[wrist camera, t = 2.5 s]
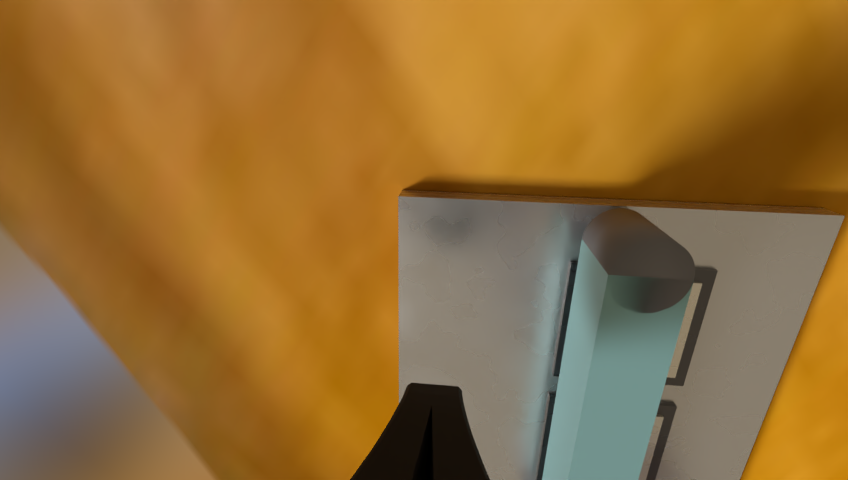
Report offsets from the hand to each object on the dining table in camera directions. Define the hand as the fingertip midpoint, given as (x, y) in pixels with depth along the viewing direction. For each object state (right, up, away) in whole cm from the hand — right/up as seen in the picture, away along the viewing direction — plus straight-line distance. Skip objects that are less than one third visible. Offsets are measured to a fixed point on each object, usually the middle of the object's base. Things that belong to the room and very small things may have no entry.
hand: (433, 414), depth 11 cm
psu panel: (+7, -2, +9) cm, 11 cm away
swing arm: (+6, -3, +7) cm, 10 cm away
